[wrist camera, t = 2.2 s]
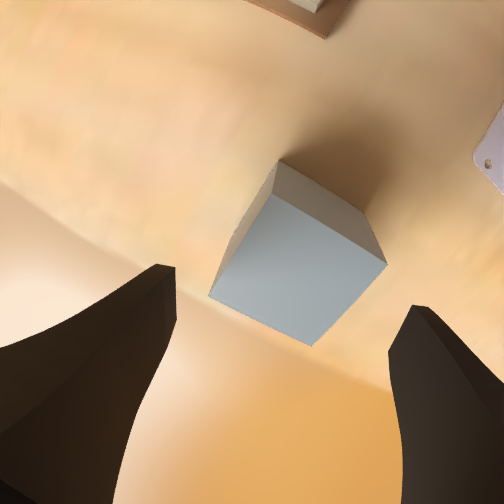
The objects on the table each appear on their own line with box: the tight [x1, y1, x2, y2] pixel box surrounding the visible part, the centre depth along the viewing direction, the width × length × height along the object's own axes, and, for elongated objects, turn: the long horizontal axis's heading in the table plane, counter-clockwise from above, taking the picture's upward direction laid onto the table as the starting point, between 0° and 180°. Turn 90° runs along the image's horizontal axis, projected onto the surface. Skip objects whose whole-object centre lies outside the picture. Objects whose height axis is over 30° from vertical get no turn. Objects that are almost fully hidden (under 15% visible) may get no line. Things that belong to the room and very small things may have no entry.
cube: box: [208, 160, 388, 346], centre depth 13 cm, size 4×4×4 cm
